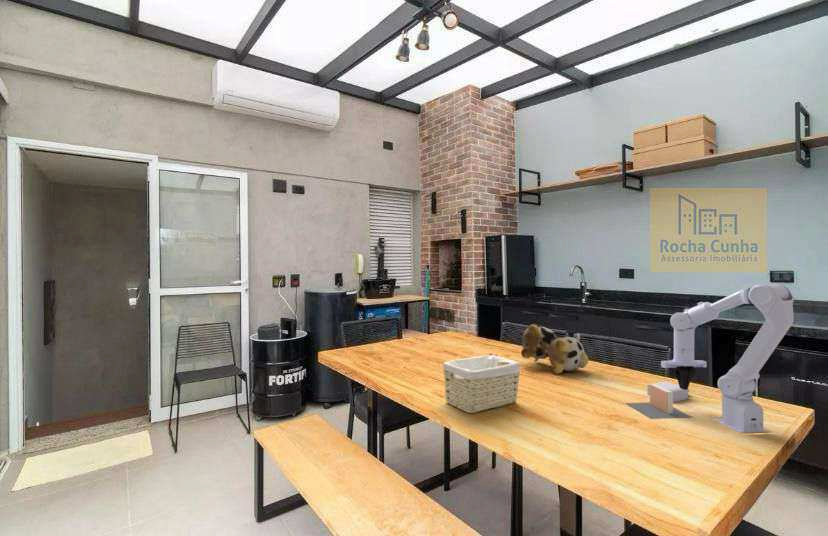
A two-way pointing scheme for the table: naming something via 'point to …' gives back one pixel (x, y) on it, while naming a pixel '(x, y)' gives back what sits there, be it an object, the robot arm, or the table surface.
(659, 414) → the mat
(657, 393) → the tile
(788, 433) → the table surface
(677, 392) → the charger
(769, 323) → the robot arm
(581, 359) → the toy
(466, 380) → the object
